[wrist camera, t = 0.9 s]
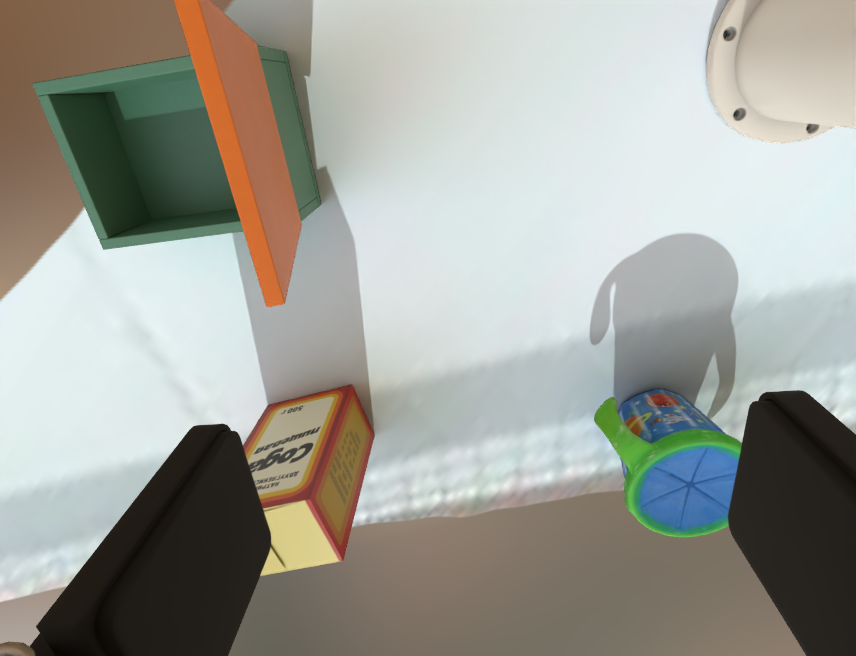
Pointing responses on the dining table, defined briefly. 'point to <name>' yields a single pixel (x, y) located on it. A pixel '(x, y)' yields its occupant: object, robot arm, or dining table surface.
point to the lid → (246, 140)
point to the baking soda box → (309, 475)
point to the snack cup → (672, 462)
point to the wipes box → (162, 149)
